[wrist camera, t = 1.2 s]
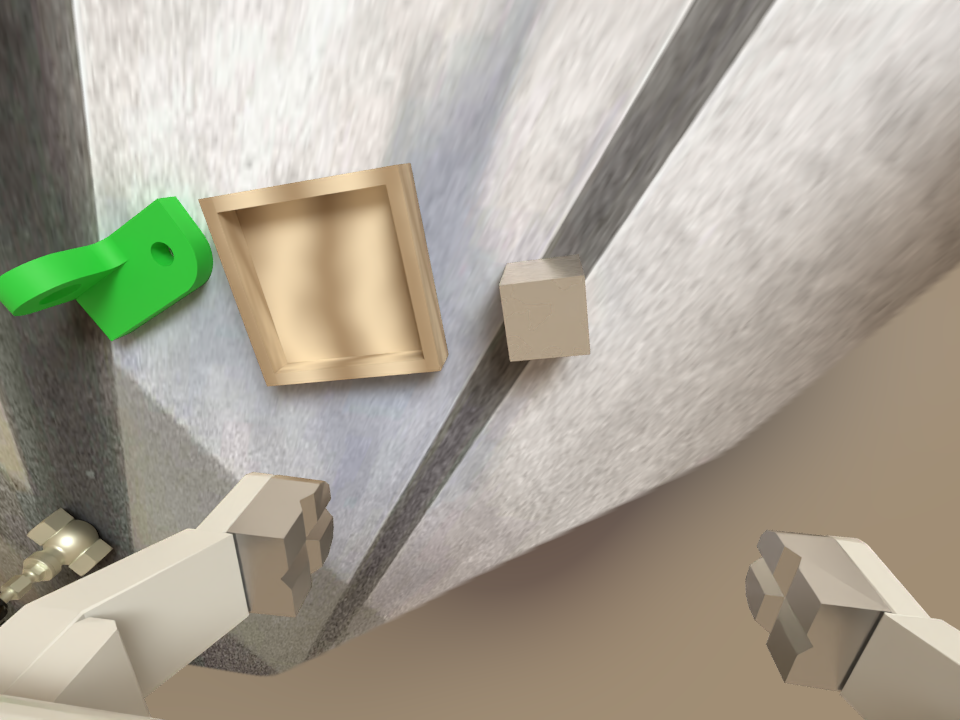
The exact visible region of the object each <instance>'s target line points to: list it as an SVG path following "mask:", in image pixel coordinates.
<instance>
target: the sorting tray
mask: <svg viewBox="0 0 960 720" xmlns="http://www.w3.org/2000/svg"><path fill="white" fill-rule="evenodd" d="M198 200H199V203H200V206H201V208H202V211H203V214H204V217H205V219H206V222H207V225H208V227H209V230H210V233H211V236H212V238H213V241H214V244H215V246H216V249H217V252H218V255H219V257H220V260H221V263H222V265H223V268H224V271H225V273H226V276H227V279H228V282H229V284H230V287H231V290H232V292H233V295H234V298H235V301H236V303H237V306H238V309H239V311H240V314H241V317H242V320H243V322H244V325H245V328H246V330H247V333H248V336H249V338H250V341H251V344H252V347H253V349H254V352H255V355H256V357H257V360H258V363H259V366H260V368H261V371H262V374H263V376H264V379H265V382H266V385H267V386H277V385H289V384H300V383H311V382H322V381H333V380H344V379H356V378H367V377H378V376H389V375H400V374H411V373H422V372H434V371H441V369H442V367H443V365H444V363H445V361H446V359H447V357H448V350H447V344H446V339H445V334H444V329H443V324H442V319H441V314H440V309H439V304H438V299H437V294H436V289H435V284H434V279H433V274H432V269H431V264H430V259H429V254H428V249H427V244H426V239H425V234H424V229H423V224H422V219H421V214H420V209H419V204H418V198H417V193H416V188H415V183H414V178H413V173H412V168H411V163H407V164H399V165H393V166H387V167H382V168H376V169H370V170H364V171H359V172H353V173H347V174H341V175H336V176H330V177H324V178H319V179H313V180H307V181H301V182H296V183H290V184H284V185H278V186H273V187H267V188H261V189H256V190H250V191H244V192H238V193H233V194H227V195H221V196H215V197H210V198H204V199H198Z"/></svg>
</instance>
